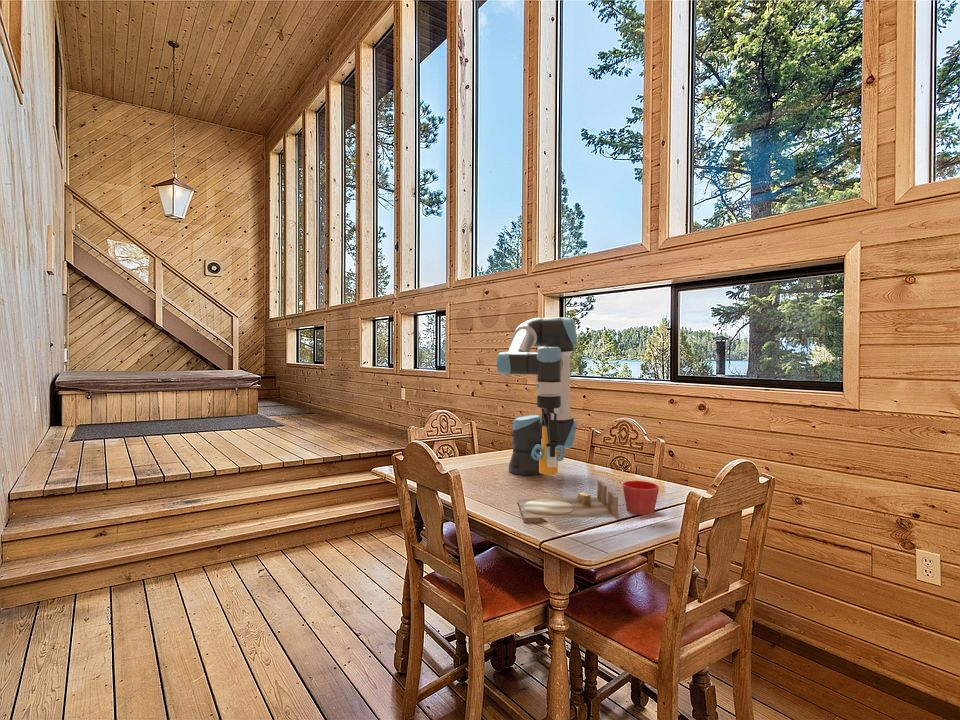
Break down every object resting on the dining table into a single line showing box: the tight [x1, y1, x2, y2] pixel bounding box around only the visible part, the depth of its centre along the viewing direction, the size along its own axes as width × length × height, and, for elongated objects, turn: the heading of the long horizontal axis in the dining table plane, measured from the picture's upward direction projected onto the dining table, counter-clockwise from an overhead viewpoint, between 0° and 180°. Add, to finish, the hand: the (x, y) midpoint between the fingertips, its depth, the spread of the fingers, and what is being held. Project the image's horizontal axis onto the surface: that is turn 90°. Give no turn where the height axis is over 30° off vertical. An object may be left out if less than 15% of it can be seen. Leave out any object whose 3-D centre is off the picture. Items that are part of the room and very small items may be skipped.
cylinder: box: [531, 425, 567, 476], centre depth 169 cm, size 12×10×15 cm
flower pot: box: [622, 480, 660, 519], centre depth 167 cm, size 11×11×10 cm
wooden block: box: [577, 491, 592, 505], centre depth 174 cm, size 4×2×3 cm, turn 22°
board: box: [516, 479, 620, 524], centre depth 170 cm, size 20×29×8 cm
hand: (548, 462), depth 169 cm, fingers closed on cylinder, 12 cm apart
